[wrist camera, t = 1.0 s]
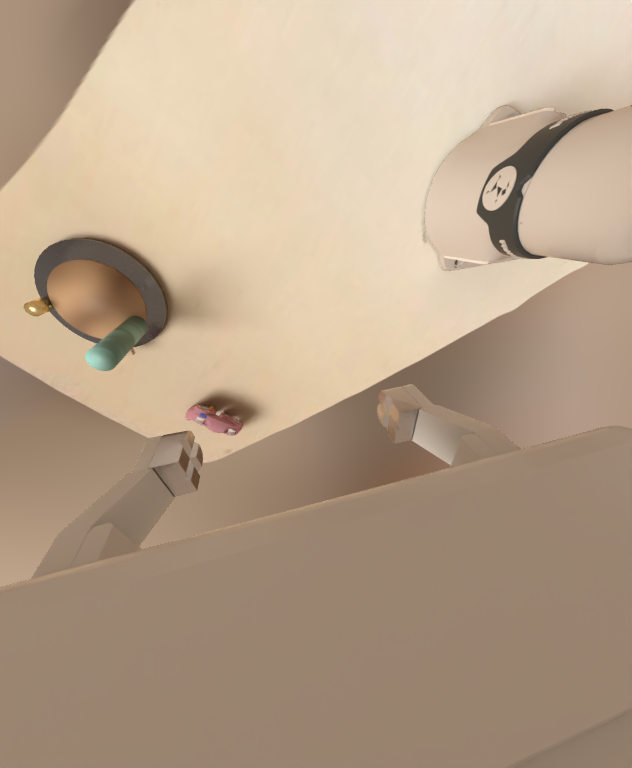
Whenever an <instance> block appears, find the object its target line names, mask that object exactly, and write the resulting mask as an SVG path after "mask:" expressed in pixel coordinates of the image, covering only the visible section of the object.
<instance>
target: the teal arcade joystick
mask: <svg viewBox="0 0 632 768" xmlns="http://www.w3.org/2000/svg"><path fill="white" fill-rule="evenodd" d="M47 292H48V296H49V299H50V301H51V303H52V305H53V307H54V308H55V310H56V311H57V312H58V313H59V315H60V316H61V317H62V318H63V319H64V320H65V321H66V322H68V323H69V324H70V325H72V326H73V327H75V328H76V329H78V330H79V331H81V332H83V333H85V334H88V335H90V336H93V337H96V338H100V339H102V340H101V341H100V342H99V343H97V344H96V345H95V346H94V347H92V348H91V349H90V350H89V351H88V352H87V353H86V355H85V359H86V361H87V363H88V364H89V365H90V366H92V367H93V368H95V369H97V370H101V371H109V370H112V369H114V368H115V366H116V365H117V364H118V363H119V362H120V361H121V360H122V359H123V358H124V356H130V355H134V354H135V351H134V349H133V347H134V345H135V344H136V343H137V342H138V341H139V340H140V339H141V338H142V337H143V335H144V334H145V333H146V332H147V331H148V324H147V322H146V317H147V308H146V303H145V301H144V298H143V296H142V294H141V292H140V291H139V289H138V288H137V287H136V286H135V284H134V283H133V282H132V281H131V280H130V279H129V278H128V277H126V276H125V275H124V274H122V273H121V272H120V271H118V270H116V269H115V268H113V267H111V266H109V265H106V264H104V263H101V262H97V261H93V260H86V259H79V260H72V261H68V262H65V263H62V264H60V265H58V266H57V267H55V268H54V269H53V270H52V271H51V273H50V275H49V277H48V280H47Z"/></svg>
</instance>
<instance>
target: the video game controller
mask: <svg viewBox="0 0 632 768" xmlns="http://www.w3.org/2000/svg"><path fill="white" fill-rule="evenodd" d="M216 412H217V411H216V410H215V409H214V407H212V406H210V407H209V406H202V405H195V406H193V407H191V408H190V409H189V410H188V411H187V413H186V420H193V421H195V422H197V423H199V424H201V425H203V426H205V427H207V428H208V429H209V430H211V431H213V432H217V433H225V434H228V435H236V434H237V433H238V432H239V431H240V430H241V429H242V427H243V424H242V423H241V422H239V421H238V420H240V419H239V418H238V417H234V418H235V419H234V418H232V417H231V416H230V415H228V414H226V413H221V414H220V416H217V415H215V414H216Z"/></svg>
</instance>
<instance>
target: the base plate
mask: <svg viewBox="0 0 632 768" xmlns="http://www.w3.org/2000/svg"><path fill="white" fill-rule="evenodd" d="M79 259H86V260H93V261H97V262H101V263H104V264H106V265H109V266H111V267H113V268H115V269H116V270H118V271H120V272H121V273H122V274H124V275H125V276H126V277H128V278H129V279H130V280H131V281H132V282H133V283H134V284H135V286H136V287H137V288H138V289H139V291H140V292H141V294H142V296H143V298H144V301H145V303H146V308H147V317H146V322H147V324H148V331H147V332H146V333H145V334H144V335H143V337H142V338H141V339H140V340H139V341H138V342H137V343H136V344H135V345H134V347H136V346H140V345H143V344H145V343H147V342H149V341H151V340H152V339H154V338H155V337H156V336H157V335H158V333H159V332H160V331H161V329H162V328H163V326H164V324H165V322H166V318H167V303H166V298H165V295H164V292H163V290H162V288H161V286H160V284H159V283H158V281H157V279H156V278H155V277H154V276H153V274H152V273H151V272H150V271H149V270H148V269H147V268H146V266H144V265H143V264H142V263H141V262H140V261H139V260H138V259H136V258H135V257H133V256H132V255H131V254H129V253H127V252H126V251H124V250H122V249H120V248H118V247H116V246H114V245H111V244H108V243H106V242H102V241H98V240H93V239H71V240H64V241H60V242H57V243H55V244H53V245H51V246H49V247H48V248H47V249H45V250H44V251H43V252H42V253H41V255H40V256H39V258H38V260H37V262H36V266H35V274H34V277H35V284H36V287H37V291H38V293H39V295H40V297H43V296H48V292H47V280H48V277H49V275H50V273H51V271H52V270H53V269H54V268H55V267H57V266H58V265H60V264H62V263H65V262H68V261H72V260H79ZM50 312H51V313H52V315H53V316H54V317H55V318H56V319H57V320H58V321H59V322H61V323H62V324H63V325H64V326H65V327H67V328H68V329H69V330H71V331H72V332H74V333H76V334H77V335H79V336H81V337H83V338H85V339H87V340H89V341H92V342H94V343H99V342H100V341H101V340H102V339H100V338H96V337H93V336H90V335H88V334H85V333H83V332H81V331H79V330H78V329H76V328H75V327H73V326H72V325H70V324H69V323H68V322H66V321H65V320H64V319H63V318H62V317H61V316H60V315H59V313H58V312H57V311H56V310H55V309H53V310H51V311H50Z"/></svg>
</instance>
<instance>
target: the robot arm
mask: <svg viewBox="0 0 632 768" xmlns="http://www.w3.org/2000/svg"><path fill="white" fill-rule="evenodd" d="M425 226H426V232H427V235H428V238H429V240H430V242H431V244H432V245H433V247H434V248H435V249H436V251H437V252H438V254H439V260H440V265H441V268H442V269H443V270H445V271H452V270H458V269H464V268H469V267H475V266H481V265H487V264H492V263H498V262H504V261H510V260H515V259H519V258H521V259H541V258H545V257H553V258H561V259H568V260H575V261H582V262H589V263H597V264H603V265H614V264H623V263H628V262H632V105H631V106H628V107H625V108H622V109H618V110H615V111H614V110H612V109H599V110H594V111H584V112H581V113H577V114H574V115H571V116H568V117H566V114H564V113H557V112H555V108H554V107H547V108H543V109H540V110H536V111H532V112H529V113H525V114H520V113H519V112H517V111H516V110H515V109H513V108H512V107H510V106H508V105H505V106H501V107H498V108H497V109H496V110H494V111H493V112H492V114H491V115H490V116H489V117H488V118H487V120H486V121H485V122H484V124H483V125H482V126H481V128H480V129H479V130H478V131H477V132H475V133H474V134H473V135H471V136H470V137H468V138H467V139H465V140H464V141H462V142H461V143H460V144H459V145H457V146H456V147H455V148H454V149H453V150H452V151H451V153H450V154H449V155H448V156H447V157H446V159H445V160H444V162H443V163H442V165H441V166H440V168H439V170H438V171H437V173H436V175H435V177H434V179H433V182H432V184H431V187H430V190H429V193H428V197H427V202H426V208H425ZM456 260H457V262H456V263H455V261H456ZM379 400H380V403H379V405H378V407H377V413H378V417H379V420H380V422H381V424H382V425H383V426H385V427H386V428H388V430H387V433H388V435H389V436H390V438H391V439H392V441H393V442H394V443H399V442H404V441H408V440H412V441H414V442H415V443H417V444H418V445H420V446H421V447H423V448H425V449H426V450H428V451H429V452H431V453H432V454H434V455H436V456H437V457H439V458H440V459H442V460H444V461H445V462H447V463H449V464H450V465H451V466H450V468H448V469H444V470H440V471H436V472H433V473H429V474H425V475H421V476H417V477H414V478H410V479H406V480H403V481H399V482H395V483H391V484H388V485H384V486H380V487H376V488H372V489H369V490H365V491H361V492H357V493H354V494H350V495H346V496H342V497H339V498H335V499H331V500H328V501H323V502H320V503H316V504H312V505H308V506H305V507H301V508H297V509H293V510H289V511H285V512H282V513H278V514H274V515H270V516H267V517H263V518H259V519H255V520H251V521H248V522H244V523H240V524H236V525H233V526H229V527H225V528H221V529H218V530H214V531H210V532H206V533H203V534H198V535H195V536H191V537H187V538H183V539H180V540H176V541H172V542H168V543H165V544H161V545H157V546H153V547H149V548H146V549H141V548H140V547H139V546H140V545H141V543H142V542H143V540H144V539H145V538H146V536H147V535H148V534H149V532H150V531H151V530H152V528H153V527H154V525H155V524H156V523H157V522H158V520H159V519H160V517H161V516H162V514H163V513H164V512H165V511H166V509H167V508H168V507H169V505H170V504H171V502H172V501H173V500H174V497H176V496H180V495H183V494H187V493H191V492H195V491H197V489H198V484H199V479H200V475H199V473H198V470H199V469H200V468H201V467H202V463H203V454H202V450H201V447H200V445H199V444H197V443H195V442H194V439H195V436H194V434H193V433H192V431H184V432H178V433H173V434H168V435H163V436H158V437H153V438H149V439H148V440H147V441H146V444H145V445H144V447H143V449H142V452H141V454H140V456H139V458H138V460H137V462H136V465H135V467H134V469H133V471H132V473H129V474H127V475H125V476H124V477H123V478H122V479H121V480H120V481H118V482H117V483H116V484H115V485H114V486H113V487H112V488H110V489H109V490H108V491H107V492H106V493H105V494H104V495H102V496H101V497H100V498H99V499H98V500H97V501H96V502H95V503H93V504H92V505H91V506H90V507H89V508H88V509H86V510H85V511H84V512H83V513H82V514H81V515H80V516H79V517H77V518H76V519H75V520H74V521H73V522H72V523H70V524H69V525H68V526H67V527H66V528H65V529H63V530H62V531H61V532H60V533H59V534H58V535H57V537H56V539H55V540H54V542H53V543H52V545H51V547H50V548H49V550H48V552H47V553H46V555H45V557H44V558H43V560H42V562H41V563H40V565H39V567H38V568H37V570H36V572H35V573H34V575H33V577H32V578H31V579H29V580H25V581H21V582H17V583H13V584H10V585H6V586H2V587H0V768H632V429H631V428H627V427H622V426H608V427H603V428H598V429H595V430H591V431H588V432H583V433H580V434H576V435H573V436H568V437H565V438H561V439H557V440H553V441H550V442H546V443H542V444H538V445H535V446H531V447H527V448H523V449H521V448H519V447H518V446H517V445H516V444H515V443H514V442H512V441H511V440H510V439H509V438H508V437H506V436H505V435H504V434H503V433H501V431H499V430H498V429H497V428H496V427H494V426H491V425H488V424H486V423H483V422H480V421H478V420H475V419H473V418H470V417H467V416H465V415H462V414H459V413H457V412H454V411H452V410H449V409H446V408H444V407H441V406H438V405H435V406H434V405H433V404H432V403H431V402H430V401H429V400H428V399H427V398H426V397H425V396H424V395H423V394H422V393H421V392H420V391H419V390H418V389H417V388H416V387H415V386H414V385H412V384H410V385H406V386H401V387H398V388H393V389H388V390H384V391H380V393H379Z"/></svg>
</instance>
